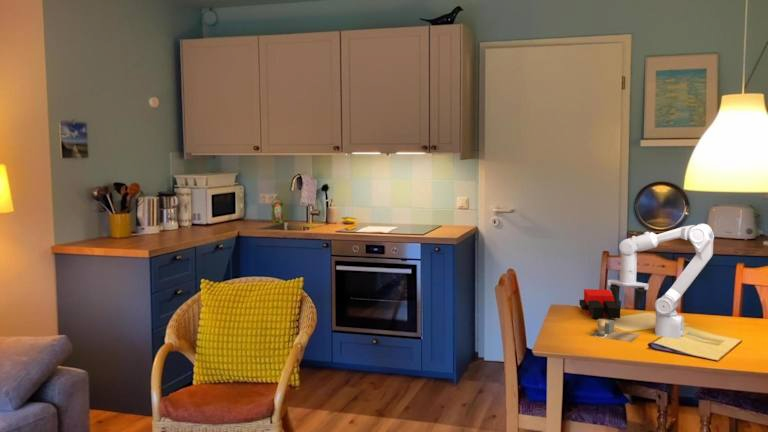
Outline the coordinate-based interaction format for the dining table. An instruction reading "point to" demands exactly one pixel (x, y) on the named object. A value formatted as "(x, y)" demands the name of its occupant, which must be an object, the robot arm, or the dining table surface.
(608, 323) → the block
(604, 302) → the red-and-black block model
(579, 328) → the dining table surface
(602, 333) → the tan capsule cylinder
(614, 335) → the subfloor panel
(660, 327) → the robot arm
